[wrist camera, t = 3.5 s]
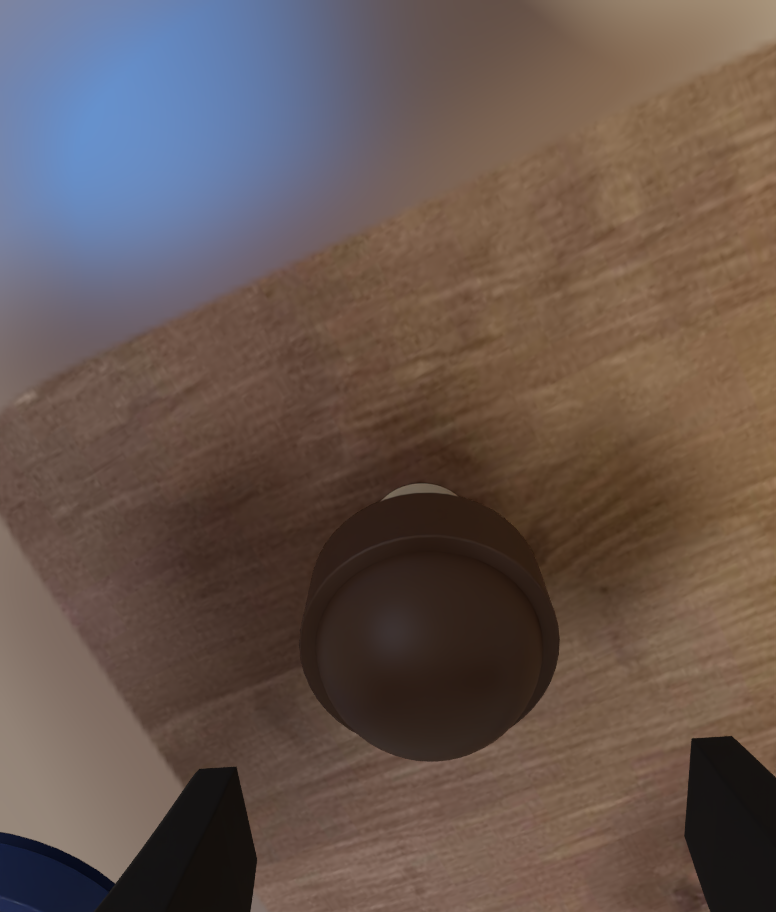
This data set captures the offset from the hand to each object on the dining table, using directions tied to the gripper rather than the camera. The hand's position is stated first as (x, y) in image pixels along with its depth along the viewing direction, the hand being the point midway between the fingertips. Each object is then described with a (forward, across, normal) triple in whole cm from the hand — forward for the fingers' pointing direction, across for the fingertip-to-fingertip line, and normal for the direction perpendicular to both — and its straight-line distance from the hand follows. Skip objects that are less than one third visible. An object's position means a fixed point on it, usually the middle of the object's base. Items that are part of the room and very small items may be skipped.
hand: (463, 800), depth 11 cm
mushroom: (+8, 0, 0) cm, 9 cm away
